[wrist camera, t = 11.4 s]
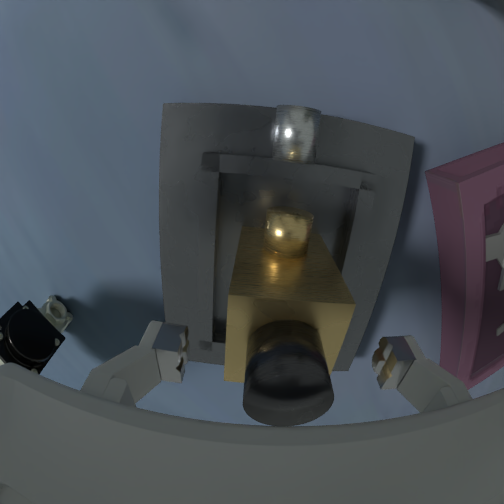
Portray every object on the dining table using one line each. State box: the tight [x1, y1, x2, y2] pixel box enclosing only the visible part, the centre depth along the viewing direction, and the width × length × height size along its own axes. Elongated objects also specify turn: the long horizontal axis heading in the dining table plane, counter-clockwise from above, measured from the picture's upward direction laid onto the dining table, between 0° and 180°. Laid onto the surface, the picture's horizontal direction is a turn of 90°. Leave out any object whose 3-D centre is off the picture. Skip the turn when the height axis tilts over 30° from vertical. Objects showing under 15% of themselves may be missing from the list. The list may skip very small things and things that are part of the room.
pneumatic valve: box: [0, 296, 73, 374], centre depth 19 cm, size 6×12×12 cm, turn 131°
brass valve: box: [224, 206, 356, 426], centre depth 14 cm, size 9×5×11 cm, turn 175°
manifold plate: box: [159, 103, 415, 371], centre depth 19 cm, size 20×16×4 cm
